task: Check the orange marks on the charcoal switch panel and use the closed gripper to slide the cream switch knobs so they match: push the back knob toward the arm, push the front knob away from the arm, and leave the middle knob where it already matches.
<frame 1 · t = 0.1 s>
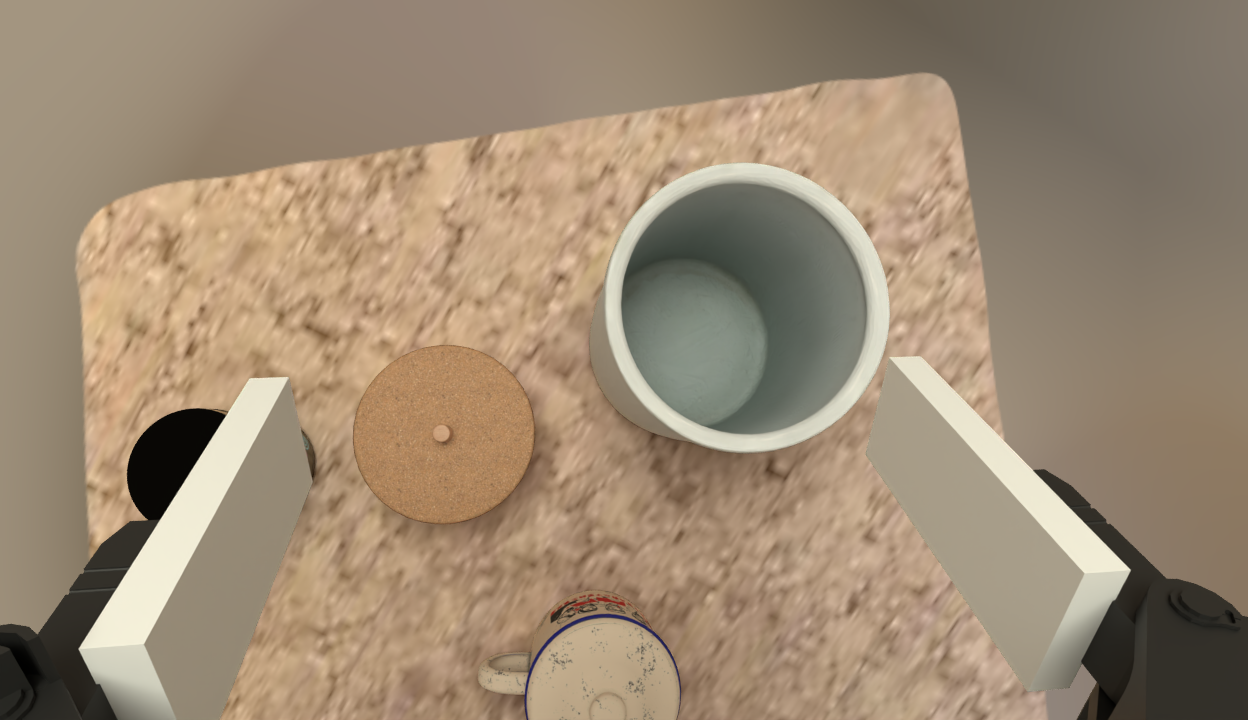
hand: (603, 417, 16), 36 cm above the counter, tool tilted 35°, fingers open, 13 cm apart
lidded jar: (459, 434, 51), on the counter
utensil holder: (682, 348, 53), on the counter
supplement container: (267, 464, 49), on the counter
teacup with lid: (572, 651, 50), on the counter
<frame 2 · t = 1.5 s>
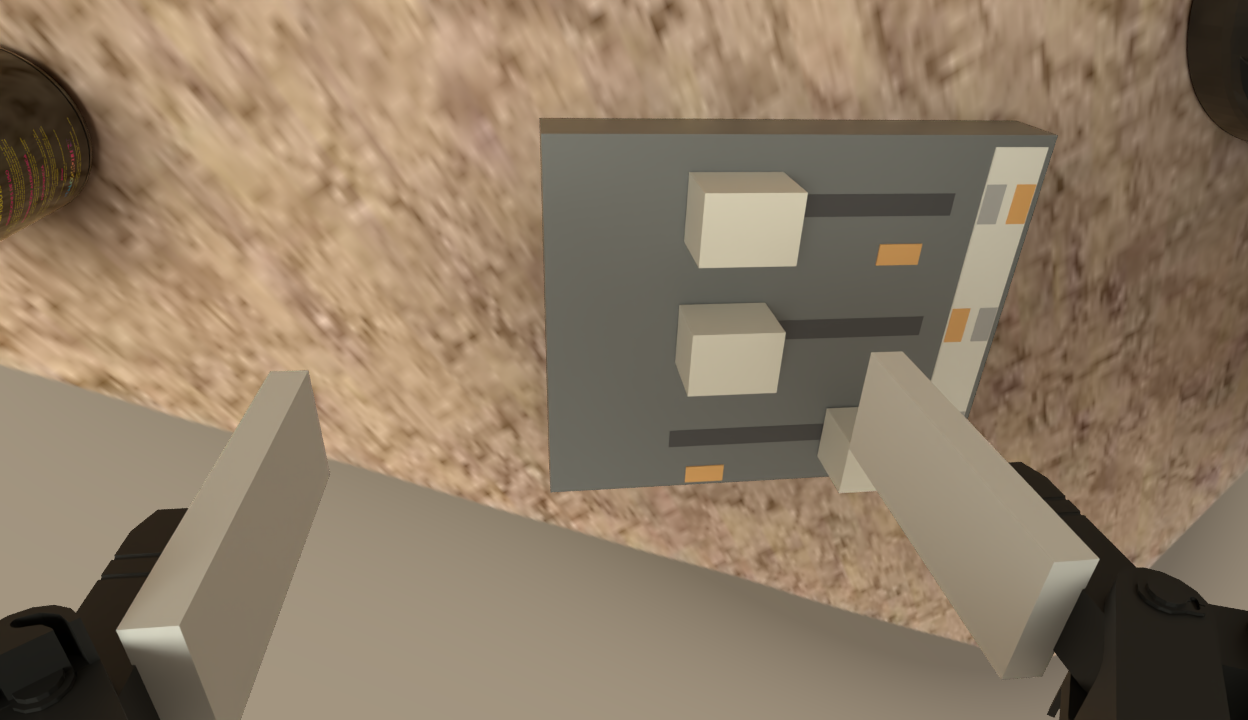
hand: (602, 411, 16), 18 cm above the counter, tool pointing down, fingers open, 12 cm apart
supplement container: (9, 127, 29), on the counter
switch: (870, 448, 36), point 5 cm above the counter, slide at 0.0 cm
switch panel: (762, 303, 36), on the counter
middle switch: (727, 348, 32), point 5 cm above the counter, slide at 8.0 cm
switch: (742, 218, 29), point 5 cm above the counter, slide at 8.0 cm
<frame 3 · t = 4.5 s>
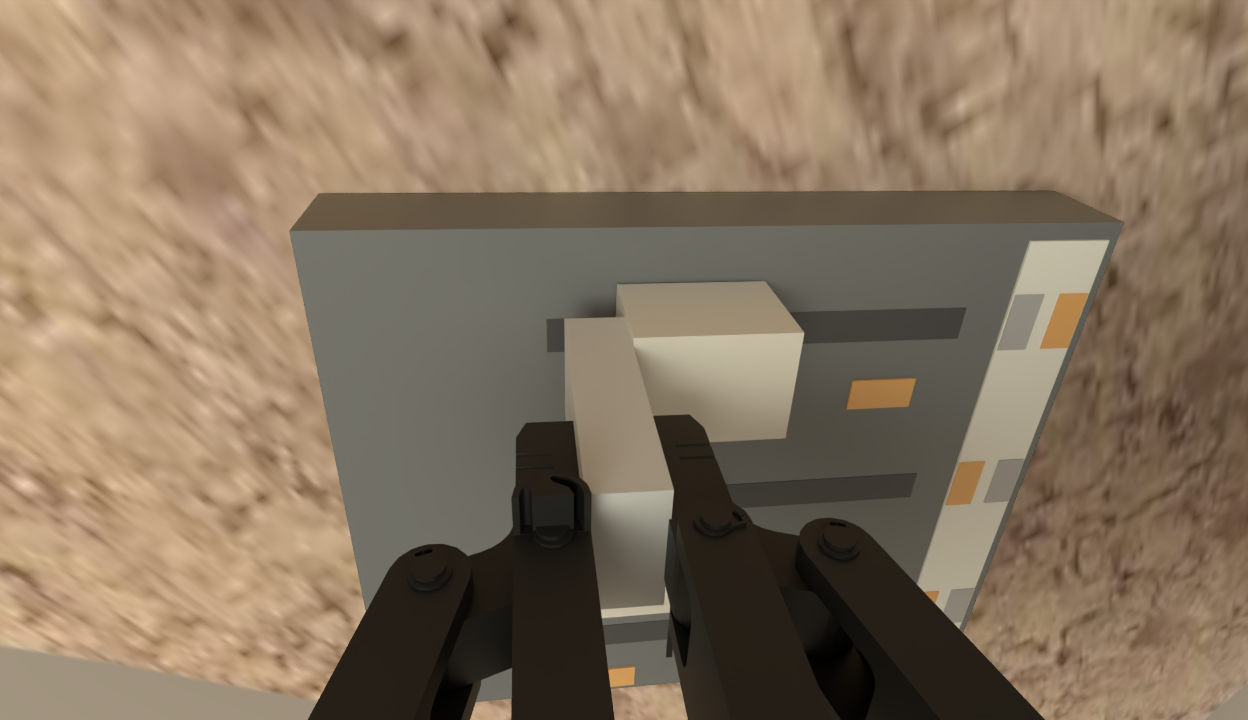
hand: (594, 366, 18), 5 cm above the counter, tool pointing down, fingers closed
switch panel: (687, 442, 25), on the counter
middle switch: (620, 539, 21), point 5 cm above the counter, slide at 8.0 cm
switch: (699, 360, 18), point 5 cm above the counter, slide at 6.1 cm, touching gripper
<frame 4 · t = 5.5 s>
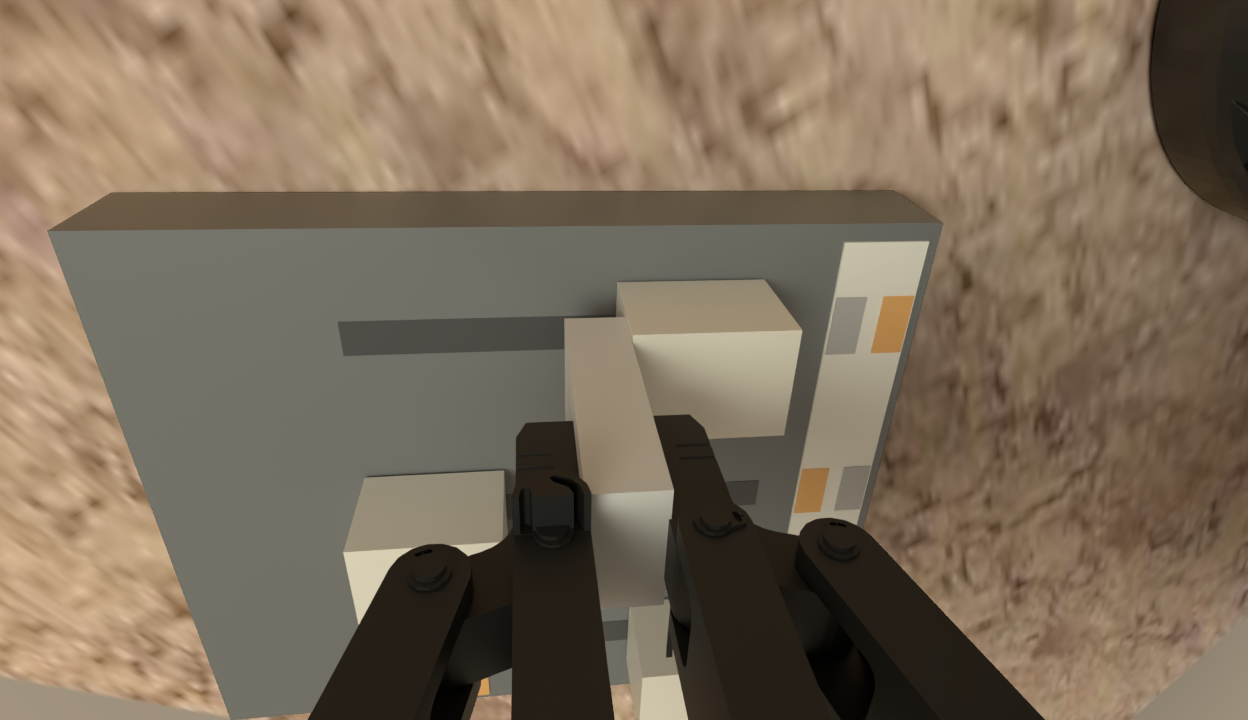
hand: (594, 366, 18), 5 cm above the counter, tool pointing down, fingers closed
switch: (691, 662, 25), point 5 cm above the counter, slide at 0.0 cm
switch panel: (536, 447, 25), on the counter
middle switch: (435, 548, 21), point 5 cm above the counter, slide at 8.0 cm
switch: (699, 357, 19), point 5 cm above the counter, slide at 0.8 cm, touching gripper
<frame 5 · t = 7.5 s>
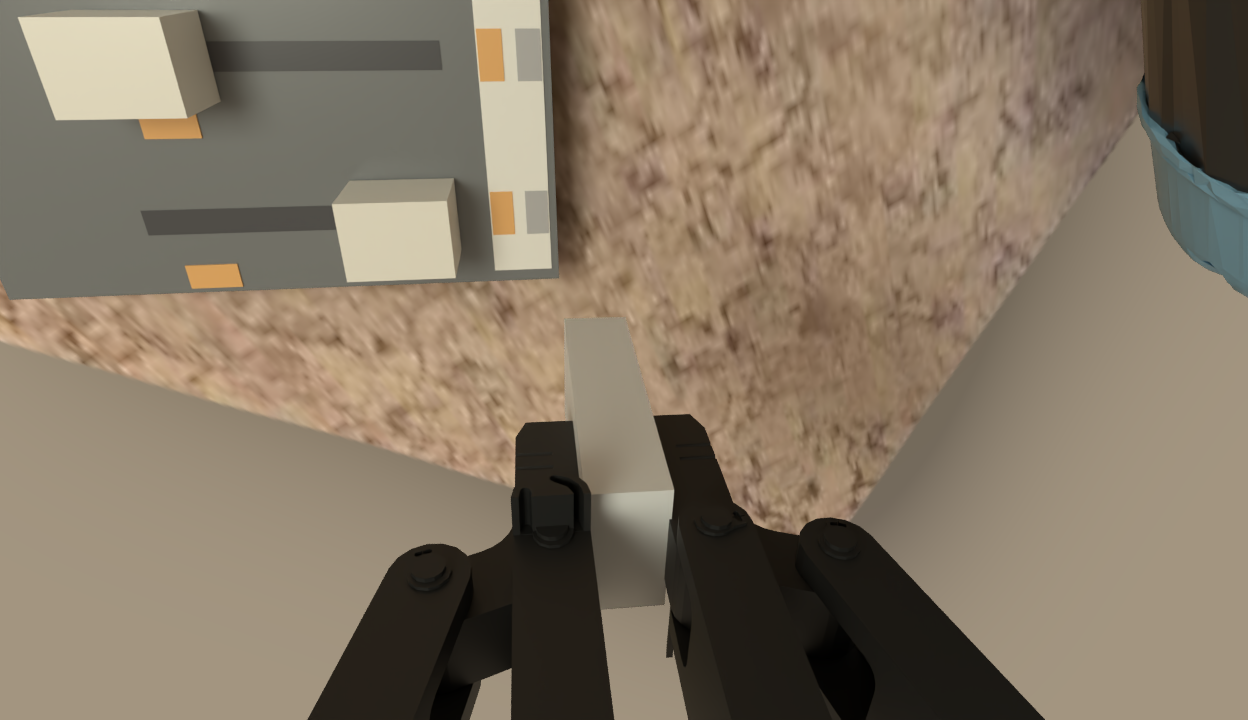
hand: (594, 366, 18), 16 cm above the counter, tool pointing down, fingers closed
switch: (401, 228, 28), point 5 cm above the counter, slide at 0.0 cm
switch panel: (266, 46, 28), on the counter
middle switch: (128, 63, 24), point 5 cm above the counter, slide at 8.0 cm
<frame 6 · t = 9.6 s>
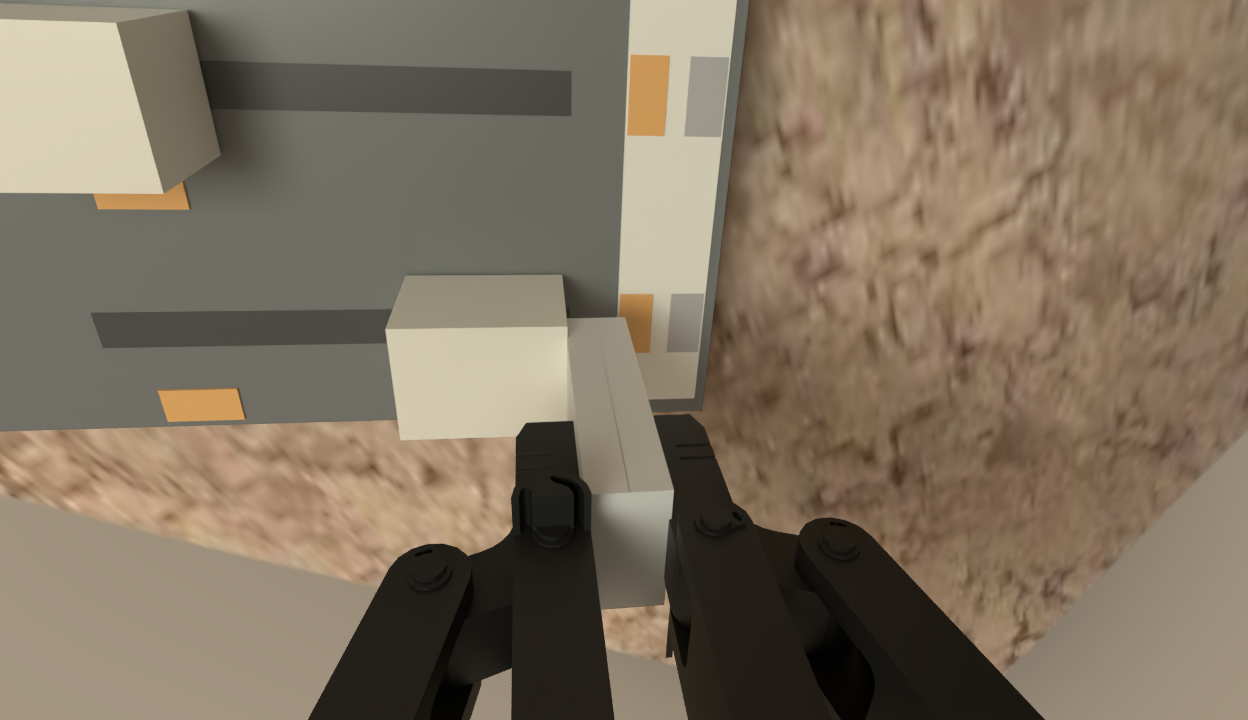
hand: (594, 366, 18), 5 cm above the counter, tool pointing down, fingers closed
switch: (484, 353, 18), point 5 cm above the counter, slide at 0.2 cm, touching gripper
switch panel: (292, 66, 19), on the counter
middle switch: (67, 95, 14), point 5 cm above the counter, slide at 8.0 cm
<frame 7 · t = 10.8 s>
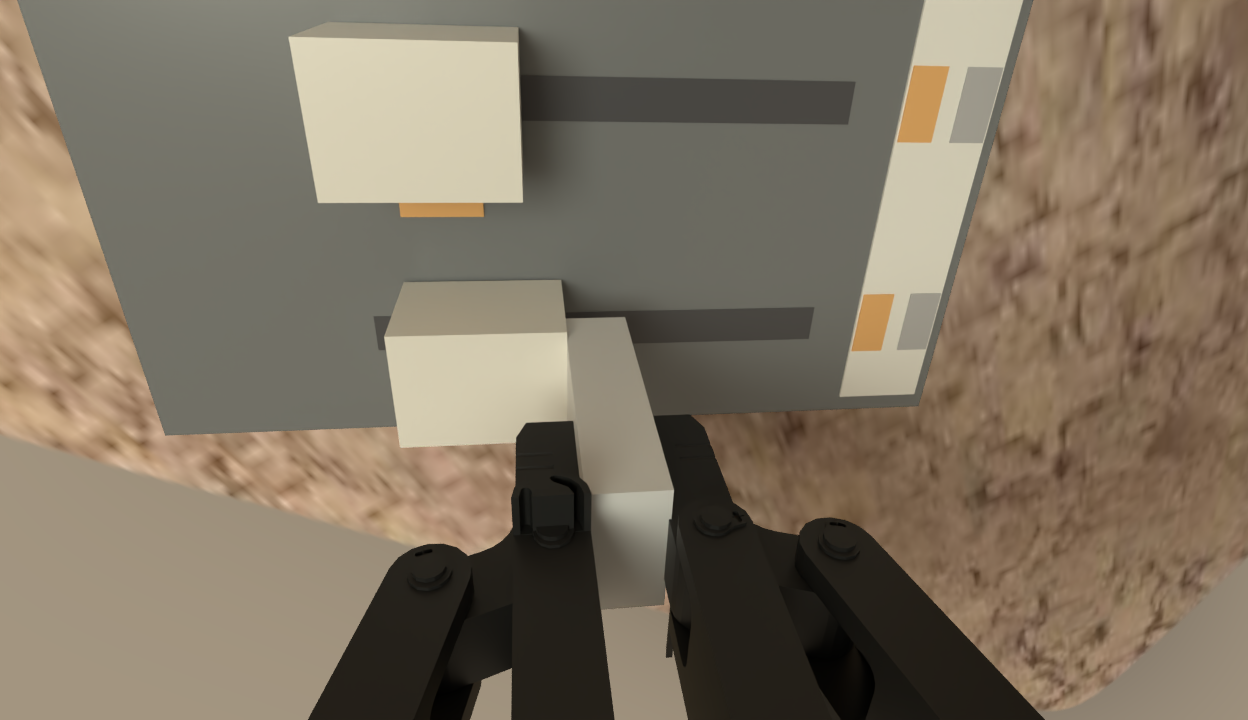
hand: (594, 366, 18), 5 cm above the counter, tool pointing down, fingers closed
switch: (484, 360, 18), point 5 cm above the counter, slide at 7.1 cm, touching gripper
switch panel: (558, 78, 19), on the counter
middle switch: (423, 110, 15), point 5 cm above the counter, slide at 8.0 cm
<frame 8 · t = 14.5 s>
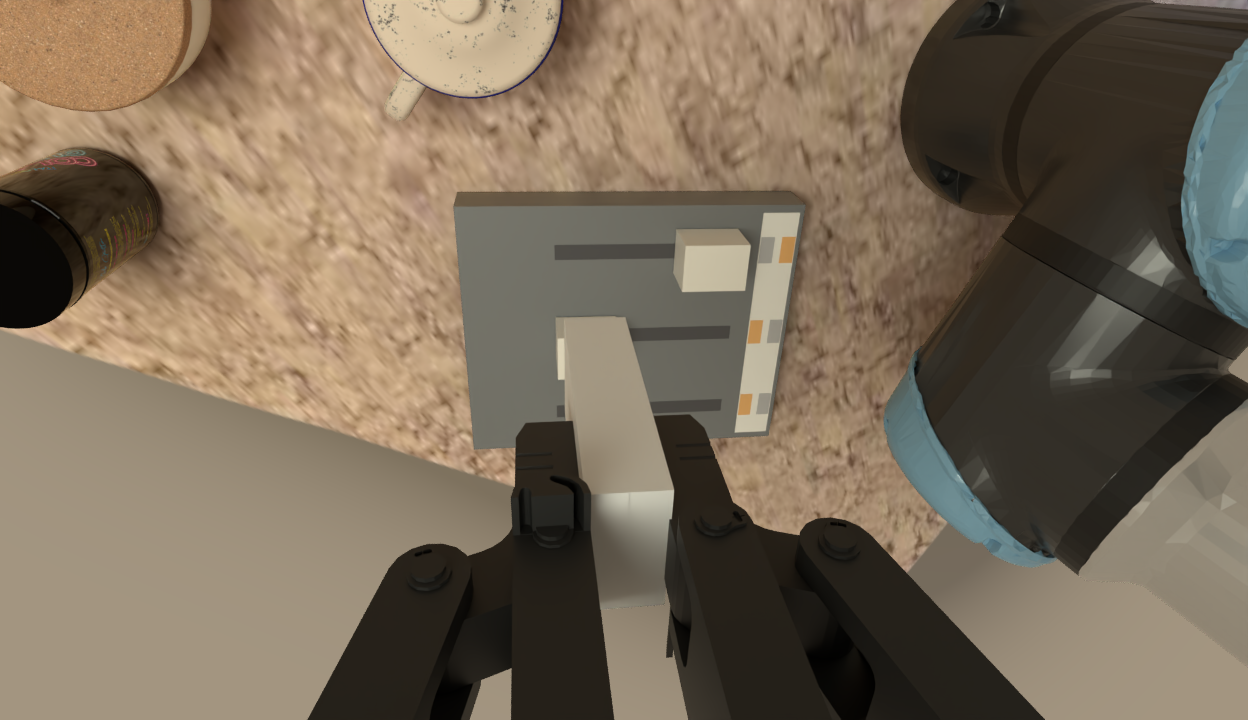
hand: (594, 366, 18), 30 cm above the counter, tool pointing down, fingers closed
supplement container: (104, 200, 44), on the counter
teacup with lid: (460, 9, 41), on the counter
switch panel: (624, 315, 52), on the counter
middle switch: (587, 347, 47), point 5 cm above the counter, slide at 8.0 cm
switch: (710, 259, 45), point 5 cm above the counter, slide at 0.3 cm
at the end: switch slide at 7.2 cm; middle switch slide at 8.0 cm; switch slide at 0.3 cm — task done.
